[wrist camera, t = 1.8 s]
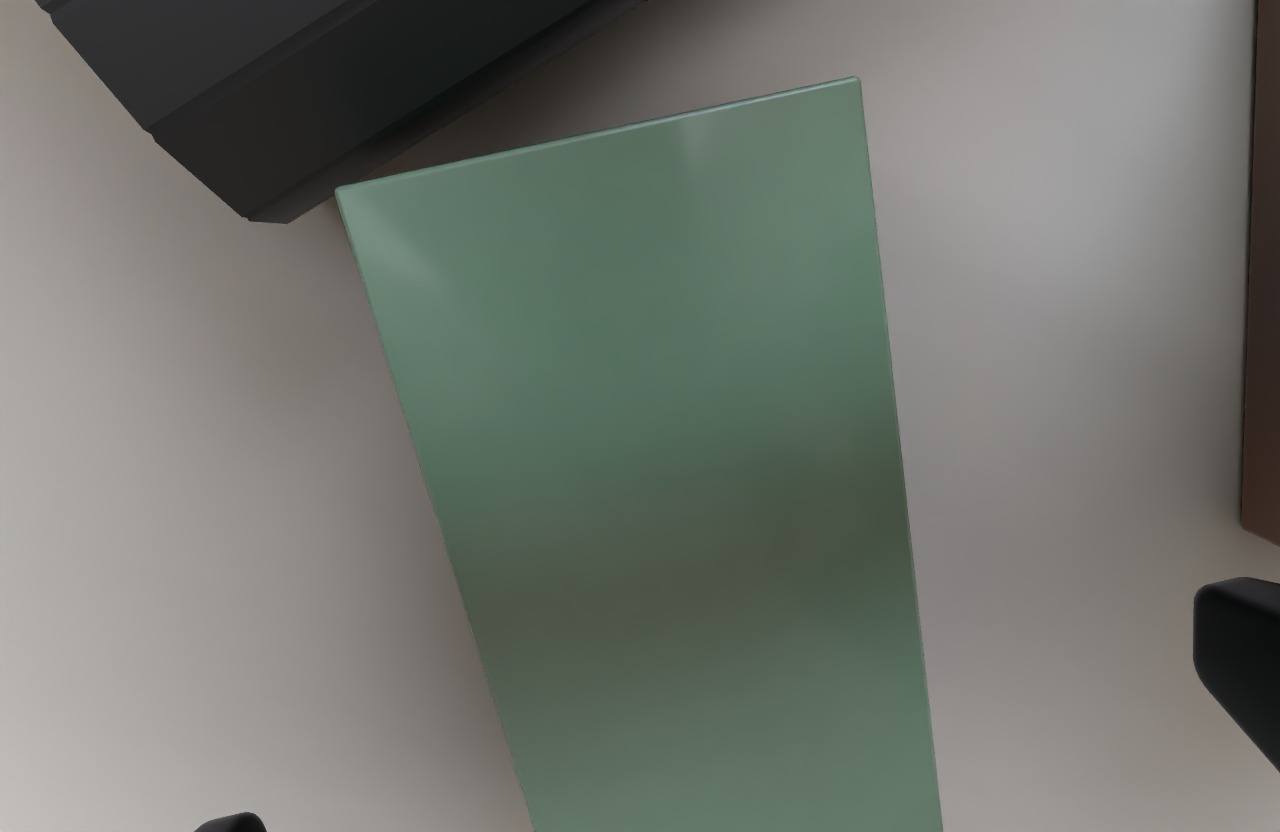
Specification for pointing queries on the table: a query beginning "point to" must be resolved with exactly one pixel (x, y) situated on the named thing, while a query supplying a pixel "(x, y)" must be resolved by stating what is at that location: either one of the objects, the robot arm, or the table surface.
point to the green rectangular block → (669, 463)
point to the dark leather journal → (311, 79)
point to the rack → (1264, 294)
